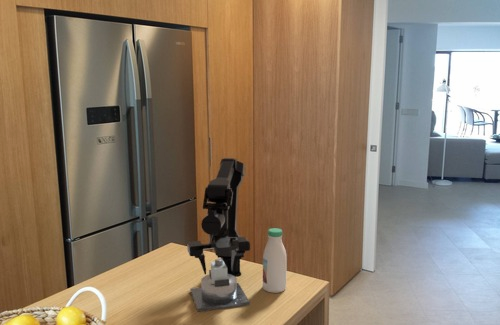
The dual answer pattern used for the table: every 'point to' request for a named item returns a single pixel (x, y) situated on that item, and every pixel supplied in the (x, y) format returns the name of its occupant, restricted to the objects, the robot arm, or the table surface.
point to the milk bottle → (274, 263)
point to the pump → (218, 270)
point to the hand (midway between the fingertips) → (219, 272)
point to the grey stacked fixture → (218, 294)
